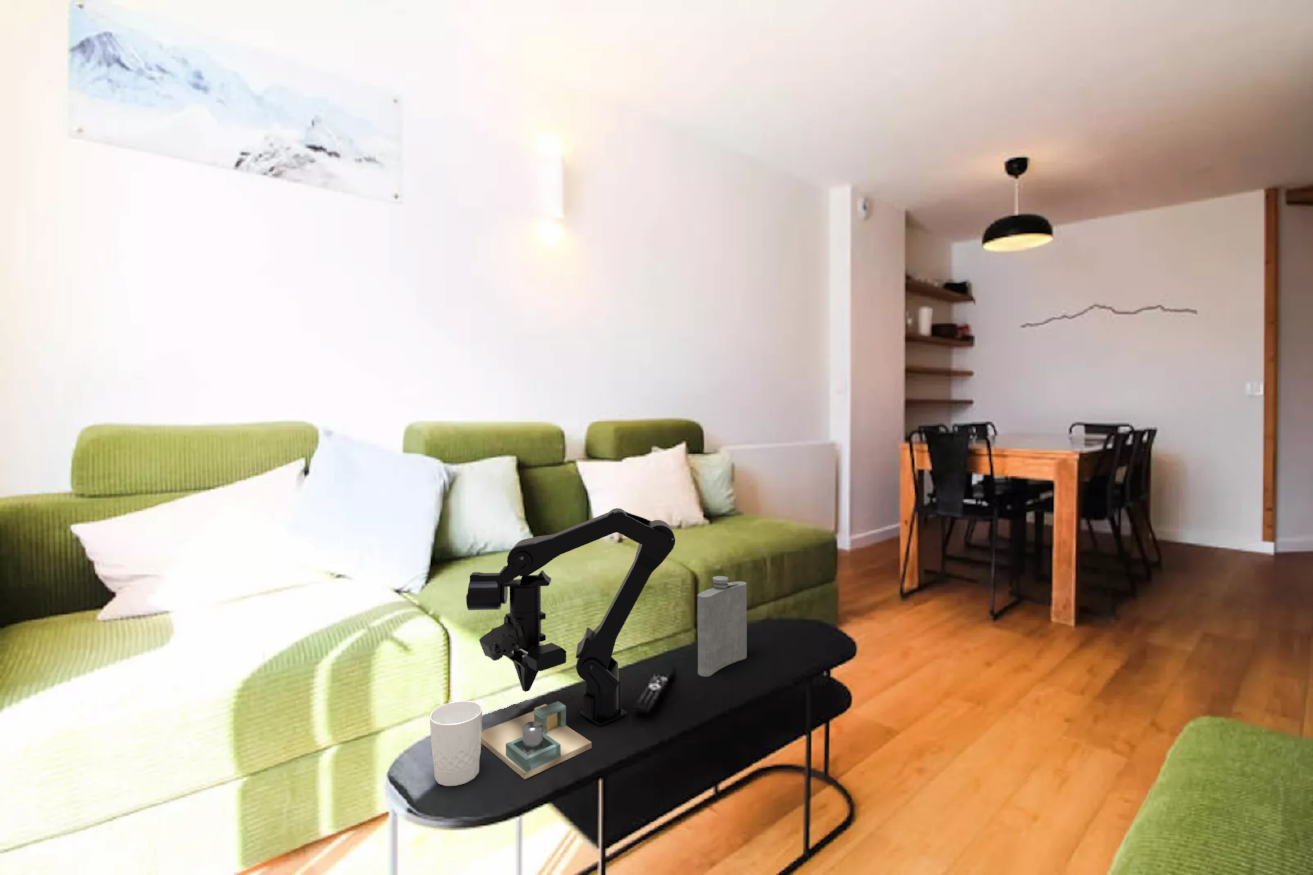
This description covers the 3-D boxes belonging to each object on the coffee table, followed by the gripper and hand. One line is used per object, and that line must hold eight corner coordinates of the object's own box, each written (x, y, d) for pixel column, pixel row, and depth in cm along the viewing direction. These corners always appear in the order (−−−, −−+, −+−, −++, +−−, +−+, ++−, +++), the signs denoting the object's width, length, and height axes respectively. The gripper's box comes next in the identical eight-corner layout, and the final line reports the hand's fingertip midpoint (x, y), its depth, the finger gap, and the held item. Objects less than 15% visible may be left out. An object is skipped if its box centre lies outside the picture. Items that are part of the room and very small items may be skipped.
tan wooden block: (545, 718, 111) (545, 703, 111) (557, 726, 108) (557, 711, 108) (534, 722, 109) (534, 708, 109) (546, 731, 106) (546, 716, 106)
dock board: (540, 713, 115) (539, 690, 115) (591, 748, 103) (591, 721, 103) (476, 738, 106) (475, 713, 106) (524, 779, 94) (524, 750, 94)
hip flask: (706, 678, 130) (705, 586, 129) (691, 672, 133) (691, 582, 132) (749, 656, 141) (749, 572, 141) (735, 652, 144) (735, 569, 144)
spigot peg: (536, 748, 101) (535, 719, 101) (546, 756, 98) (546, 726, 98) (519, 756, 99) (518, 726, 98) (529, 764, 96) (529, 733, 96)
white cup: (488, 759, 100) (487, 699, 99) (475, 788, 92) (474, 724, 91) (440, 760, 99) (439, 700, 99) (423, 790, 91) (422, 725, 91)
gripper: (462, 606, 114) (463, 687, 114) (512, 631, 100) (513, 724, 101) (514, 594, 121) (515, 670, 122) (567, 616, 108) (568, 702, 108)
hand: (526, 690), depth 113 cm, fingers closed
